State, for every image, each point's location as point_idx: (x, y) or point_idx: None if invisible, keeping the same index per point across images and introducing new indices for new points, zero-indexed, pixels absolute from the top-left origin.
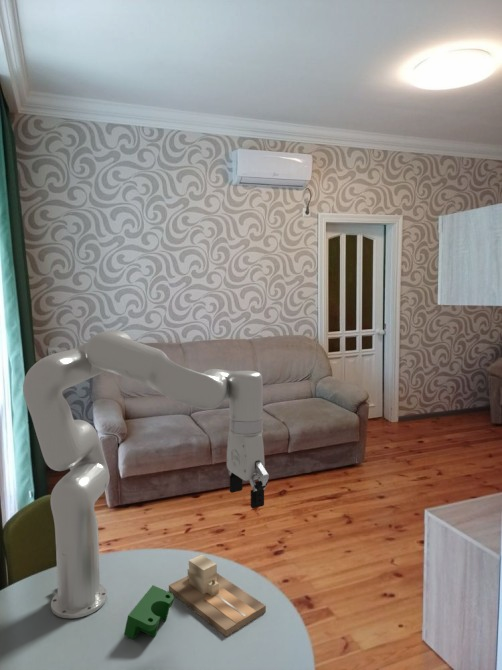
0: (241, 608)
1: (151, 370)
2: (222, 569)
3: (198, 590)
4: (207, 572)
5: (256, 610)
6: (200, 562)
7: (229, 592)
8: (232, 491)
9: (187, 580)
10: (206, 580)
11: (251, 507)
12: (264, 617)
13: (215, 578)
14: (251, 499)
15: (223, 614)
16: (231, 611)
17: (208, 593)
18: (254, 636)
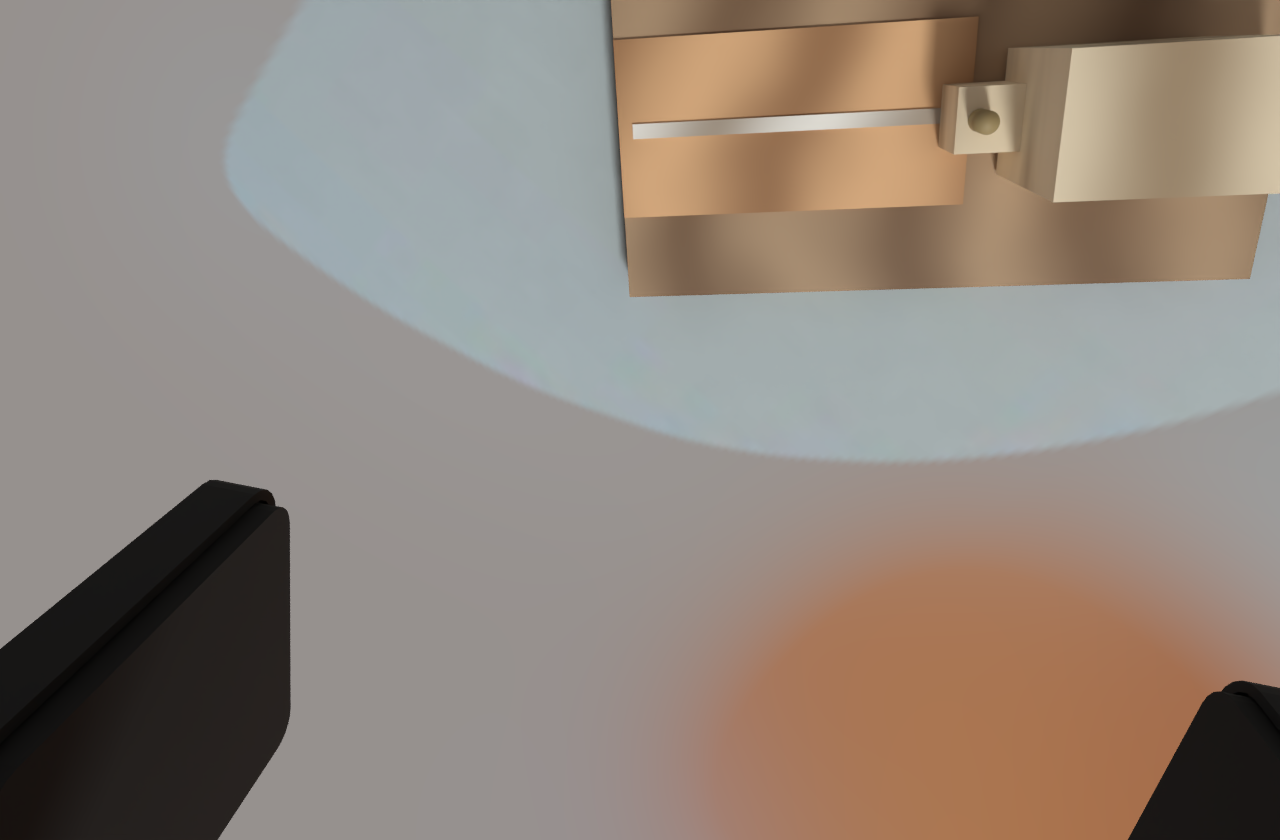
0: (703, 160)
1: None
2: (1157, 365)
3: None
4: (1054, 93)
5: (631, 224)
6: (1192, 102)
7: (887, 207)
8: (1218, 718)
9: None
10: (1034, 78)
11: (238, 485)
12: (602, 248)
13: (1017, 170)
14: (91, 589)
15: (739, 27)
16: (724, 89)
17: None
18: (513, 93)
